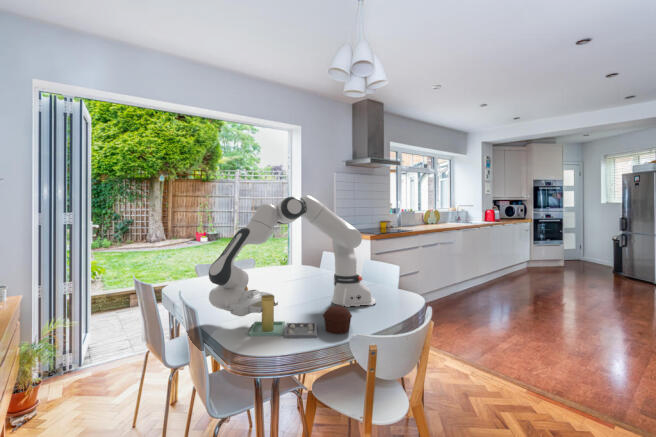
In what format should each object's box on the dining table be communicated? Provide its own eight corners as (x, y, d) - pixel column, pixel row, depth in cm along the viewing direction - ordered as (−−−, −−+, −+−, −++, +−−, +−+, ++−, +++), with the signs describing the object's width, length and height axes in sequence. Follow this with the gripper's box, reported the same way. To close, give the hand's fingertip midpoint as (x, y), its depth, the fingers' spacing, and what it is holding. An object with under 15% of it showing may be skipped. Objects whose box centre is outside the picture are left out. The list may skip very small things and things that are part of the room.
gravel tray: (316, 327, 130) (316, 321, 130) (316, 340, 118) (316, 333, 118) (286, 328, 130) (286, 322, 129) (283, 340, 118) (283, 334, 118)
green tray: (284, 326, 132) (284, 321, 131) (281, 338, 120) (281, 332, 119) (255, 326, 131) (255, 321, 131) (248, 338, 119) (248, 333, 119)
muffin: (327, 325, 133) (328, 301, 132) (354, 328, 129) (354, 303, 129) (318, 336, 121) (319, 310, 121) (347, 340, 118) (347, 313, 118)
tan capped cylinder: (274, 326, 128) (275, 294, 127) (273, 331, 123) (273, 298, 122) (262, 326, 128) (262, 294, 127) (260, 331, 123) (260, 298, 122)
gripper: (222, 300, 122) (251, 306, 115) (258, 288, 140) (284, 292, 133) (222, 317, 122) (251, 323, 115) (258, 303, 140) (284, 307, 134)
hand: (269, 306), depth 125 cm, fingers open, 8 cm apart
